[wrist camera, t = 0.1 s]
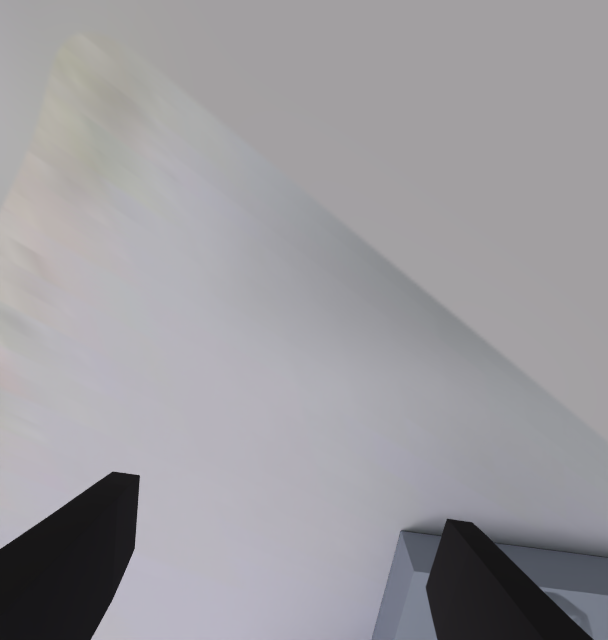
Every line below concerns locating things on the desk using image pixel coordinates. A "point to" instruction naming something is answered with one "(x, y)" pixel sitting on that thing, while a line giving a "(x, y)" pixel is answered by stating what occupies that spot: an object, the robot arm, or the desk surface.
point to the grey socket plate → (538, 564)
